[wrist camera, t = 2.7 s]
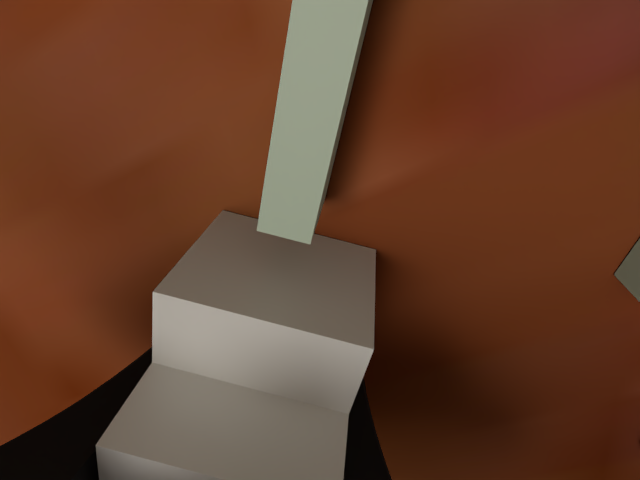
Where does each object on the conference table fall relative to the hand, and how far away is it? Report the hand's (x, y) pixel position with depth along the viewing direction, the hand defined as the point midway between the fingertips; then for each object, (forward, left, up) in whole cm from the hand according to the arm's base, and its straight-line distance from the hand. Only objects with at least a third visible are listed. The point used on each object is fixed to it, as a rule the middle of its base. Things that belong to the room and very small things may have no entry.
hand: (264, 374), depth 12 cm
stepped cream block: (0, 0, -1) cm, 1 cm away
